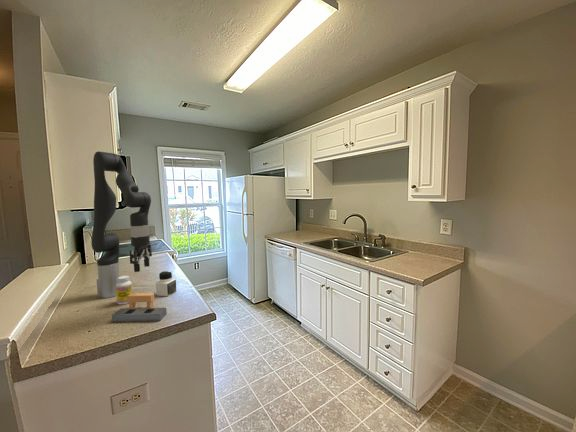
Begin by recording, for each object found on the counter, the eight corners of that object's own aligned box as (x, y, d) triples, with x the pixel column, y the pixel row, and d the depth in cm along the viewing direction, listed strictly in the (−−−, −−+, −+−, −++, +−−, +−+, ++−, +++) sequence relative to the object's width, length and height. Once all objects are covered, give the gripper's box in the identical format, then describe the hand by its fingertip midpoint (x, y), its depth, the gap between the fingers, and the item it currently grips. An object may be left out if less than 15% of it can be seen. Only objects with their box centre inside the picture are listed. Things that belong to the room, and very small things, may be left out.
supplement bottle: (116, 306, 120) (114, 280, 118) (118, 301, 125) (116, 276, 124) (132, 303, 123) (130, 277, 122) (133, 298, 128) (131, 274, 127)
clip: (127, 309, 116) (126, 296, 115) (131, 306, 119) (130, 293, 118) (151, 309, 116) (150, 295, 115) (154, 306, 119) (154, 293, 118)
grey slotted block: (112, 322, 104) (111, 315, 104) (121, 315, 110) (120, 308, 110) (160, 320, 105) (159, 314, 104) (166, 314, 111) (166, 307, 110)
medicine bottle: (168, 296, 130) (166, 274, 129) (156, 295, 132) (154, 273, 131) (176, 291, 137) (175, 270, 136) (165, 290, 139) (164, 269, 138)
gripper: (140, 232, 122) (142, 265, 124) (122, 237, 108) (124, 274, 110) (155, 232, 123) (157, 264, 124) (139, 237, 109) (142, 273, 110)
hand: (142, 269), depth 117 cm, fingers open, 8 cm apart
